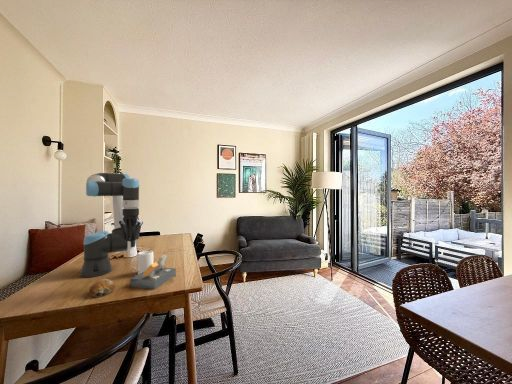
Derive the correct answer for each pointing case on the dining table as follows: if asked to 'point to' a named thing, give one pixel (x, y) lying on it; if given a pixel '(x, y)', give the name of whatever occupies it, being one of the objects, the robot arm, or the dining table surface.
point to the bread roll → (101, 288)
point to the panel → (154, 276)
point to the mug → (143, 260)
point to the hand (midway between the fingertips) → (130, 252)
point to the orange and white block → (150, 269)
